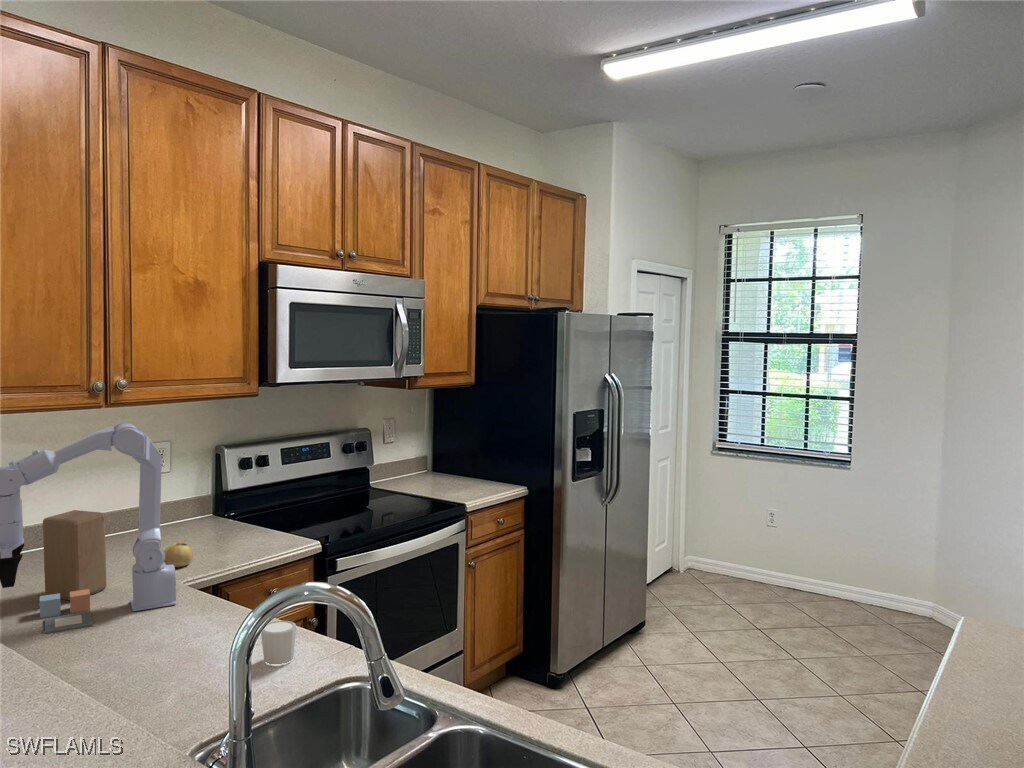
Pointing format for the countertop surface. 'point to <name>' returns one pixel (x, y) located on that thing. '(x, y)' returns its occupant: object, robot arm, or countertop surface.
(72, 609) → the terracotta brick
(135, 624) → the countertop surface
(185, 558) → the onion
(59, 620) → the mat
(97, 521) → the wooden block
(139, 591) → the robot arm
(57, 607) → the blue brick
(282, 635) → the white tapered cup
